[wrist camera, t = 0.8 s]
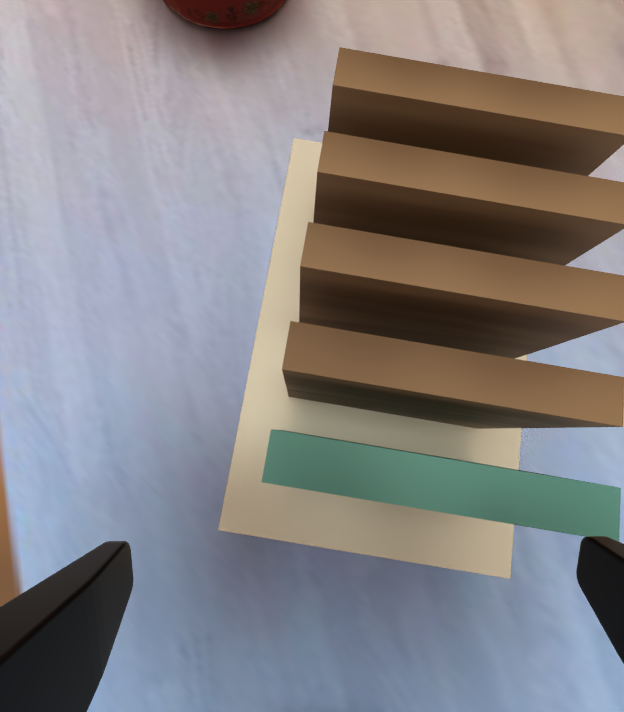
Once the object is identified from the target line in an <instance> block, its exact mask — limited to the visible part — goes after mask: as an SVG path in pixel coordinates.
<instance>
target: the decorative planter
mask: <svg viewBox="0 0 624 712" xmlns="http://www.w3.org/2000/svg"><path fill="white" fill-rule="evenodd" d="M163 1H164V2H165V4H166V5H167V6H168V7H169V8H170V9H172V10H173V11H175V12H176V13H177V14H179V15H180V16H182V17H183V18H185V19H186V20H188V21H191V22H193V23H196V24H198V25H203V26H208V27H214V28H236V27H242V26H247V25H250V24H254V23H257V22H259V21H261V20H263V19H265V18H267V17H268V16H270V15H271V14H273V13H274V12H275V11H276V10H277V9H278V8H279V7H280V5H281V4H282V3H283V1H284V0H163Z"/></svg>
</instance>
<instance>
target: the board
mask: <svg viewBox="0 0 624 712" xmlns="http://www.w3.org/2000/svg"><path fill="white" fill-rule="evenodd" d="M321 148H322V143H319V142H313V141H307V140H302V139H296V138H294V141H293V146H292V151H291V156H290V161H289V167H288V172H287V177H286V182H285V187H284V192H283V198H282V203H281V208H280V213H279V218H278V223H277V228H276V234H275V239H274V244H273V249H272V254H271V259H270V265H269V270H268V275H267V280H266V285H265V290H264V296H263V301H262V306H261V311H260V316H259V321H258V327H257V332H256V337H255V342H254V347H253V352H252V358H251V363H250V368H249V373H248V378H247V383H246V388H245V394H244V399H243V404H242V409H241V414H240V419H239V425H238V430H237V435H236V440H235V445H234V450H233V456H232V461H231V466H230V471H229V476H228V481H227V487H226V492H225V497H224V502H223V507H222V512H221V517H220V523H219V528H218V530H220V531H226V532H232V533H238V534H244V535H250V536H256V537H262V538H268V539H274V540H280V541H286V542H292V543H298V544H304V545H310V546H316V547H322V548H328V549H334V550H340V551H346V552H352V553H358V554H364V555H370V556H376V557H382V558H388V559H394V560H400V561H406V562H412V563H418V564H424V565H430V566H436V567H442V568H448V569H454V570H460V571H466V572H472V573H478V574H484V575H490V576H496V577H502V578H508V579H510V574H511V561H512V547H513V534H514V524H508V523H502V522H496V521H490V520H484V519H478V518H472V517H466V516H460V515H454V514H448V513H442V512H436V511H430V510H424V509H418V508H412V507H406V506H400V505H394V504H388V503H382V502H376V501H370V500H364V499H358V498H352V497H347V496H341V495H335V494H329V493H323V492H317V491H311V490H305V489H299V488H293V487H287V486H281V485H275V484H269V483H263V482H262V476H263V471H264V465H265V459H266V454H267V448H268V443H269V437H270V432H271V429H274V430H285V431H291V432H297V433H303V434H309V435H315V436H321V437H327V438H333V439H339V440H345V441H351V442H357V443H362V444H368V445H374V446H380V447H386V448H392V449H398V450H404V451H410V452H416V453H422V454H428V455H434V456H440V457H446V458H452V459H458V460H464V461H470V462H476V463H481V464H487V465H493V466H498V467H504V468H510V469H515V470H518V468H519V455H520V442H521V429H522V428H491V429H477V428H471V427H465V426H459V425H453V424H447V423H441V422H436V421H430V420H424V419H418V418H412V417H406V416H400V415H394V414H388V413H382V412H376V411H370V410H364V409H358V408H352V407H346V406H340V405H335V404H329V403H323V402H317V401H311V400H305V399H299V398H293V397H289V396H288V392H287V388H286V384H285V380H284V376H283V372H282V365H283V360H284V354H285V349H286V343H287V338H288V332H289V327H290V321H294V322H299V301H300V264H301V259H302V253H303V248H304V242H305V236H306V231H307V225H308V222H311V223H313V220H314V207H315V194H316V181H317V170H318V165H319V159H320V153H321ZM515 359H518V360H524V361H527V355H524V356H521V357H518V358H515Z"/></svg>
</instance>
